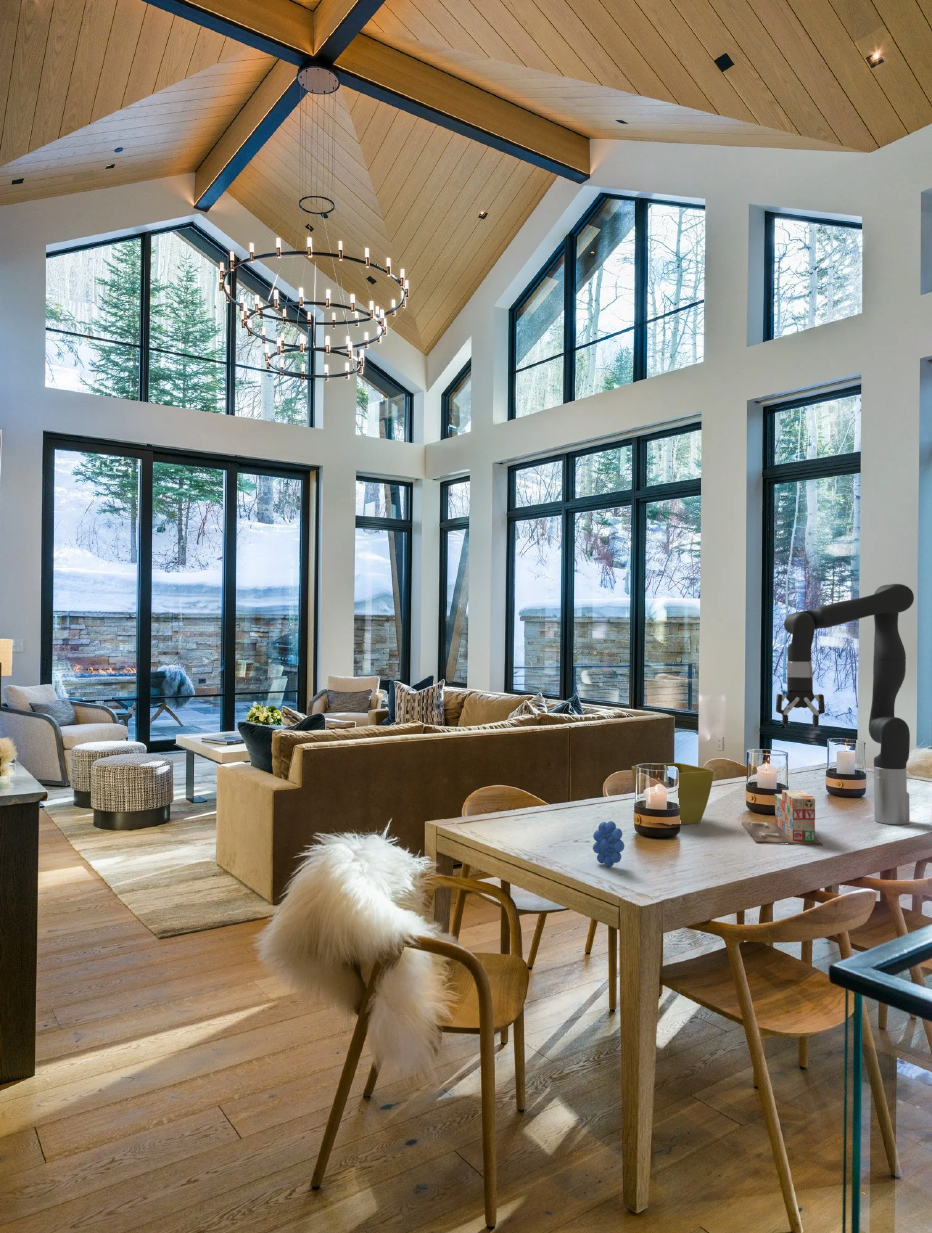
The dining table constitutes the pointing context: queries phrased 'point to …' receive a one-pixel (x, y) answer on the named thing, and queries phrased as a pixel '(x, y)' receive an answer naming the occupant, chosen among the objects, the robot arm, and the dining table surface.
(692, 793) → the flower pot
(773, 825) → the board
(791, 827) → the stack of blocks
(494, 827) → the dining table surface
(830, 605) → the robot arm
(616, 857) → the grapes
